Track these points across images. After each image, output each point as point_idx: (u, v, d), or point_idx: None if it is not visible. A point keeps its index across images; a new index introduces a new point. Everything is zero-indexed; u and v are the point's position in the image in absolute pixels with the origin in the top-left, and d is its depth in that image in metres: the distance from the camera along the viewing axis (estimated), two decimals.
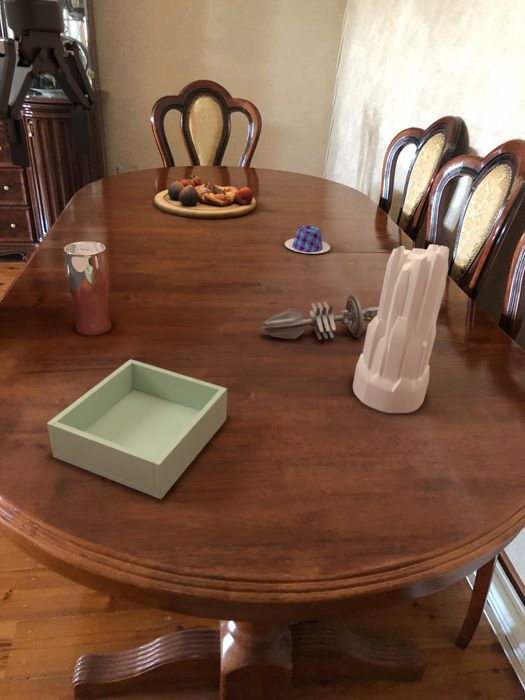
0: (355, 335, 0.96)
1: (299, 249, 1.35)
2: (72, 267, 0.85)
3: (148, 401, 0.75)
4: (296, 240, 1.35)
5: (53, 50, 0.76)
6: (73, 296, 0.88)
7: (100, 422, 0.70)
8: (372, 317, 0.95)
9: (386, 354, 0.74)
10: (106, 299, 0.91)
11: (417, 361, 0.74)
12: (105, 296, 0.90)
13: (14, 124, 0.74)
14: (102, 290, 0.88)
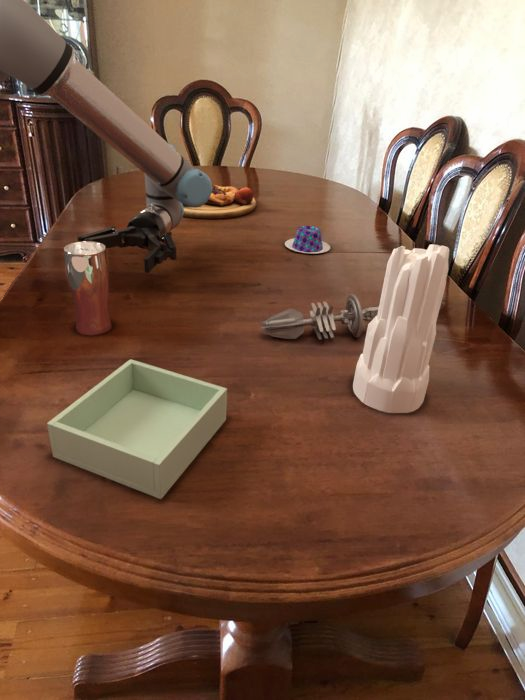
0: (355, 335, 0.96)
1: (299, 249, 1.35)
2: (72, 267, 0.85)
3: (148, 401, 0.75)
4: (296, 240, 1.35)
5: (142, 228, 1.09)
6: (73, 296, 0.88)
7: (100, 422, 0.70)
8: (372, 317, 0.95)
9: (386, 354, 0.74)
10: (106, 299, 0.91)
11: (417, 361, 0.74)
12: (105, 296, 0.90)
13: None
14: (102, 290, 0.88)
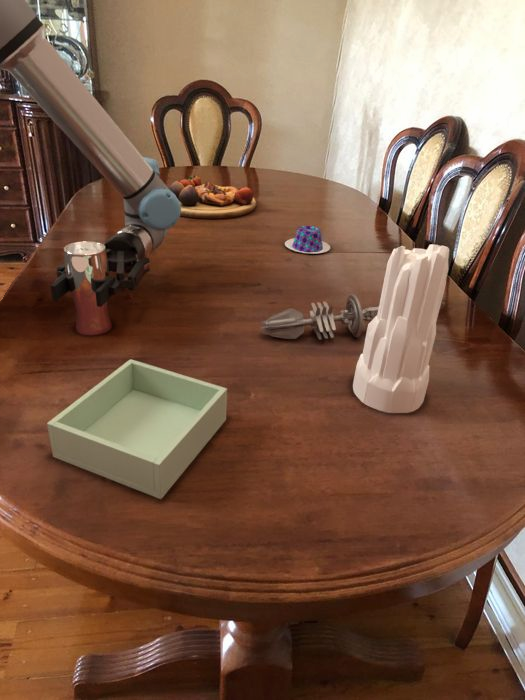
0: (355, 335, 0.96)
1: (299, 249, 1.35)
2: (72, 267, 0.85)
3: (148, 401, 0.75)
4: (296, 240, 1.35)
5: (119, 251, 0.99)
6: (73, 296, 0.88)
7: (100, 422, 0.70)
8: (372, 317, 0.95)
9: (386, 354, 0.74)
10: None
11: (417, 361, 0.74)
12: None
13: None
14: None
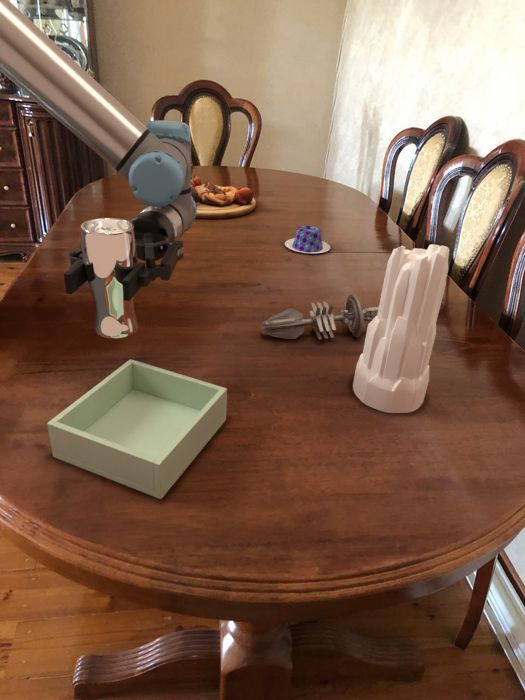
0: (355, 335, 0.96)
1: (299, 249, 1.35)
2: (92, 250, 0.66)
3: (148, 401, 0.75)
4: (296, 240, 1.35)
5: (146, 233, 0.80)
6: (92, 288, 0.69)
7: (100, 422, 0.70)
8: (372, 317, 0.95)
9: (386, 354, 0.74)
10: None
11: (417, 361, 0.74)
12: None
13: None
14: None
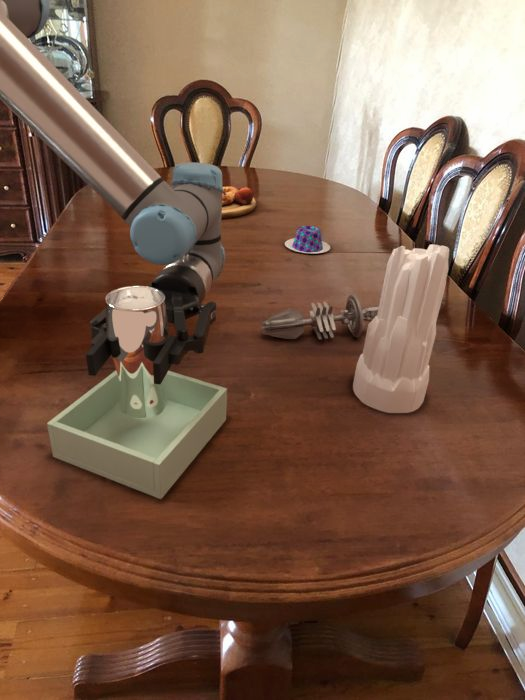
0: (355, 335, 0.96)
1: (299, 249, 1.35)
2: (118, 327, 0.57)
3: None
4: (296, 240, 1.35)
5: (174, 293, 0.71)
6: (117, 366, 0.61)
7: (100, 422, 0.70)
8: (372, 317, 0.95)
9: (386, 354, 0.74)
10: None
11: (417, 361, 0.74)
12: None
13: None
14: None
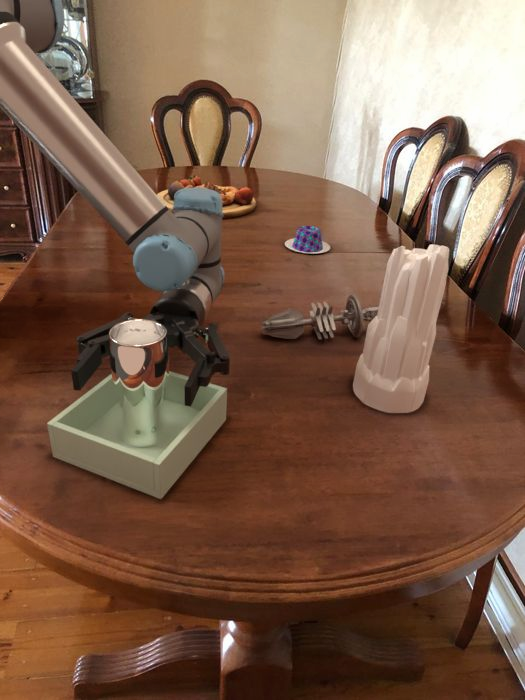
0: (355, 335, 0.96)
1: (299, 249, 1.35)
2: (121, 361, 0.60)
3: None
4: (296, 240, 1.35)
5: (174, 318, 0.73)
6: (120, 397, 0.63)
7: (100, 422, 0.70)
8: (372, 317, 0.95)
9: (386, 354, 0.74)
10: (164, 397, 0.65)
11: (417, 361, 0.74)
12: (163, 395, 0.65)
13: (90, 350, 0.67)
14: (161, 388, 0.63)
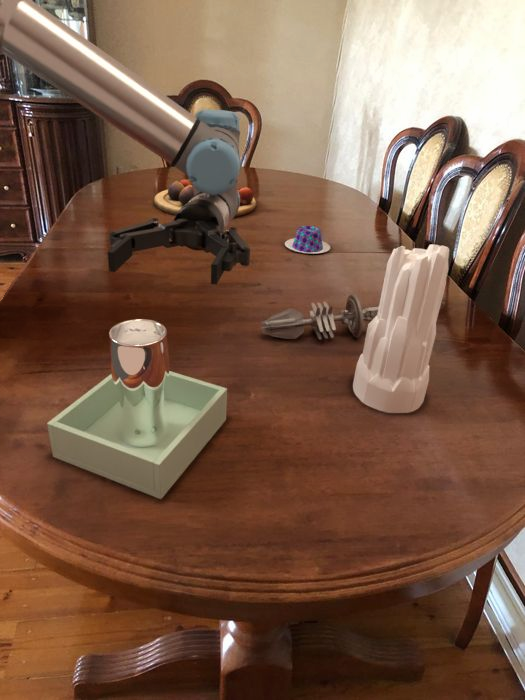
0: (355, 335, 0.96)
1: (299, 249, 1.35)
2: (121, 361, 0.60)
3: None
4: (296, 240, 1.35)
5: (197, 221, 0.79)
6: (120, 397, 0.63)
7: (100, 422, 0.70)
8: (372, 317, 0.95)
9: (386, 354, 0.74)
10: (164, 397, 0.65)
11: (417, 361, 0.74)
12: (163, 395, 0.65)
13: None
14: (161, 388, 0.63)
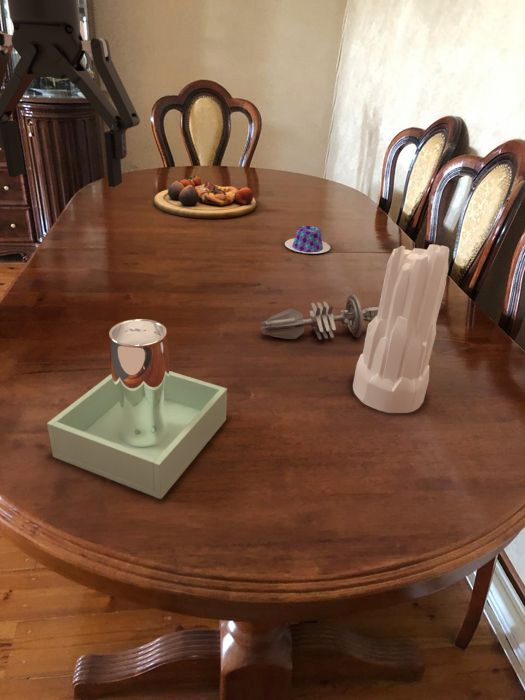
0: (355, 335, 0.96)
1: (299, 249, 1.35)
2: (121, 361, 0.60)
3: None
4: (296, 240, 1.35)
5: (47, 48, 0.60)
6: (120, 397, 0.63)
7: (100, 422, 0.70)
8: (372, 317, 0.95)
9: (386, 354, 0.74)
10: (164, 397, 0.65)
11: (417, 361, 0.74)
12: (163, 395, 0.65)
13: None
14: (161, 388, 0.63)
